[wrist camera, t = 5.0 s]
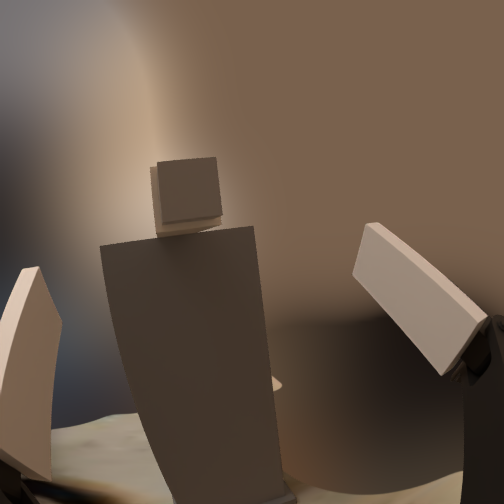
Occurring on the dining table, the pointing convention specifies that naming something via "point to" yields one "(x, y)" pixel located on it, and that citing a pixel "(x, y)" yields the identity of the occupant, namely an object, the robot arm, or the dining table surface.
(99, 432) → the dining table surface
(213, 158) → the beige square bar
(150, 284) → the stand
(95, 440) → the dining table surface
